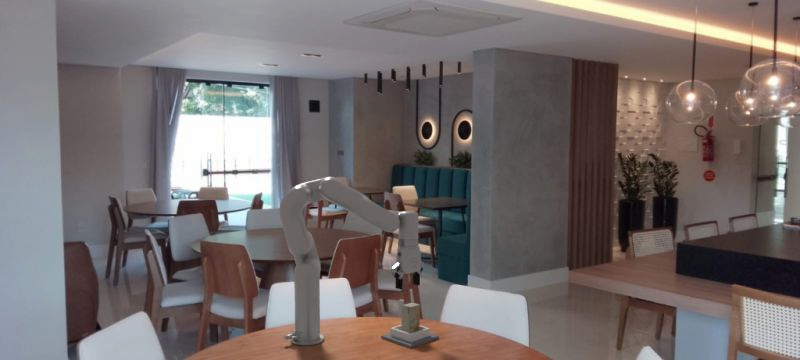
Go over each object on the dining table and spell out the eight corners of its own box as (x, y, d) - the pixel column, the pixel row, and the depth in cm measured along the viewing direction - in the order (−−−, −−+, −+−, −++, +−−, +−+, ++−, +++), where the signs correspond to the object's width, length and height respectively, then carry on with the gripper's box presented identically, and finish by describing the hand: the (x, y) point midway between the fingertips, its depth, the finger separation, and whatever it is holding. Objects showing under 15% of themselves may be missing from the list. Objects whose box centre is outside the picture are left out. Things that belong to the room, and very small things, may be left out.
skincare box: (409, 338, 222) (409, 307, 221) (401, 336, 225) (401, 305, 224) (420, 334, 227) (420, 304, 226) (411, 332, 230) (411, 302, 229)
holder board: (410, 348, 214) (410, 337, 214) (381, 338, 225) (381, 328, 225) (438, 338, 225) (439, 328, 225) (409, 329, 237) (409, 319, 236)
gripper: (399, 246, 215) (398, 292, 216) (430, 241, 227) (429, 284, 228) (385, 244, 220) (385, 288, 221) (416, 239, 232) (416, 281, 233)
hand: (407, 286), depth 225 cm, fingers open, 9 cm apart
